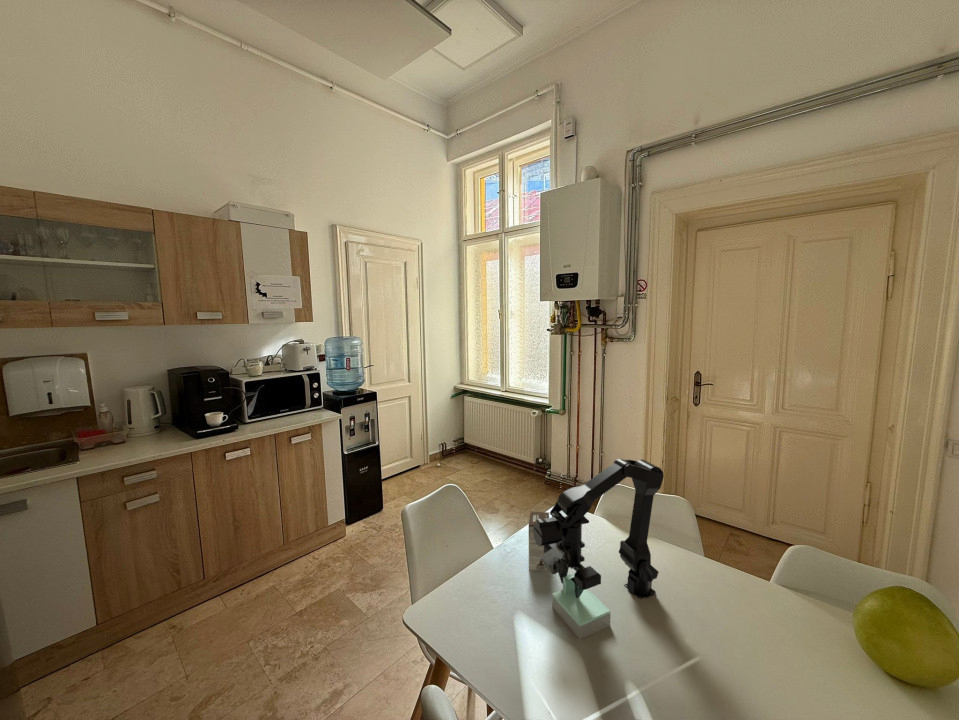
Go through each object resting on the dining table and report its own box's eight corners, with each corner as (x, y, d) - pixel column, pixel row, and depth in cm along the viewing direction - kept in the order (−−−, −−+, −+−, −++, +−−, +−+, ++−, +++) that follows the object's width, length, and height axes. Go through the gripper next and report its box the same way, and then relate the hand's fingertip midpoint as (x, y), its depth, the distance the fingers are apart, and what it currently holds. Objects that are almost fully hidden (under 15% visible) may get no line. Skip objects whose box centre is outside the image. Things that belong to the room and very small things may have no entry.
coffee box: (530, 553, 136) (530, 510, 134) (549, 556, 135) (549, 511, 133) (528, 571, 127) (528, 524, 125) (548, 573, 126) (548, 526, 124)
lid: (580, 585, 114) (581, 568, 114) (610, 613, 104) (610, 595, 103) (552, 596, 110) (552, 578, 110) (579, 626, 99) (580, 607, 99)
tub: (580, 598, 115) (580, 585, 114) (610, 627, 104) (610, 614, 103) (552, 609, 111) (552, 596, 110) (579, 641, 100) (580, 627, 99)
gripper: (528, 528, 114) (528, 578, 116) (568, 565, 97) (567, 623, 99) (559, 519, 118) (559, 567, 120) (603, 553, 102) (601, 608, 103)
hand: (570, 590), depth 111 cm, fingers open, 6 cm apart
